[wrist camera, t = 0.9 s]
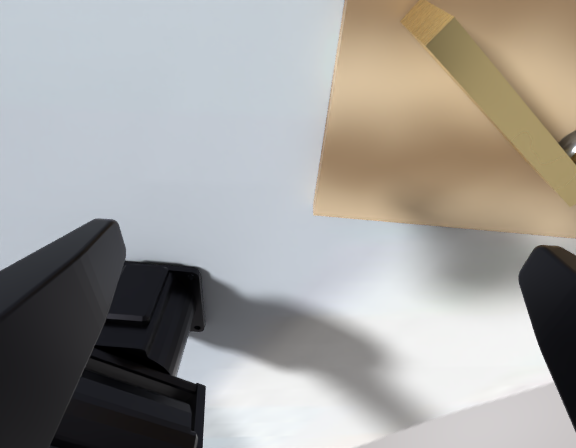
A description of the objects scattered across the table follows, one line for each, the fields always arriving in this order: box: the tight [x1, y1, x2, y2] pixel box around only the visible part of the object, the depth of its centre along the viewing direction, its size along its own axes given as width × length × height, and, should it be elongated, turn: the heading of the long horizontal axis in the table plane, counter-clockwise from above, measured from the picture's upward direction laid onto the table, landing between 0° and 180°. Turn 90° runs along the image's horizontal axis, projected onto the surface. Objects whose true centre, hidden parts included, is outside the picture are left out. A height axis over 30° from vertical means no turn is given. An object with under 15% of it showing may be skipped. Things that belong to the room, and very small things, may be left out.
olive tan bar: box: [400, 0, 576, 207], centre depth 14 cm, size 12×3×4 cm, turn 50°
